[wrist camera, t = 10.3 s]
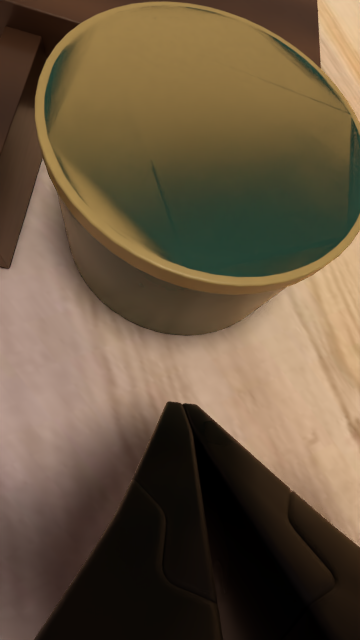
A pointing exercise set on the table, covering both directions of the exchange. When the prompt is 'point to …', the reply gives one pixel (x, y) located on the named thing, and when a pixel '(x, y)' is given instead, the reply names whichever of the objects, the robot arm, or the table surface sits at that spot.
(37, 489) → the table surface
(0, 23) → the dark brown wooden block
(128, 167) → the tin
